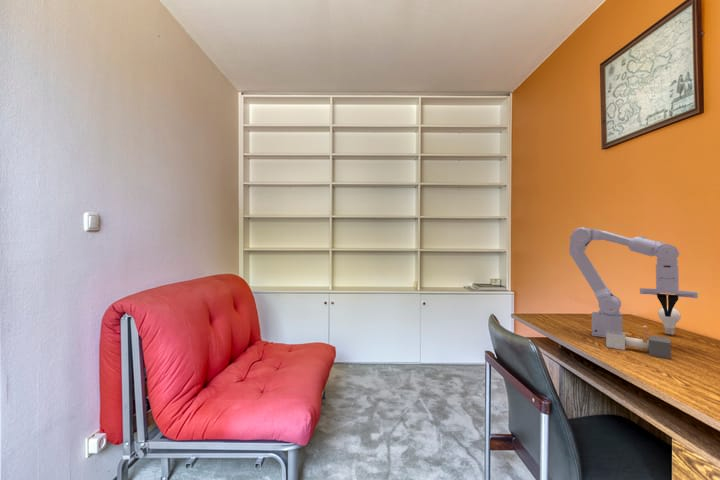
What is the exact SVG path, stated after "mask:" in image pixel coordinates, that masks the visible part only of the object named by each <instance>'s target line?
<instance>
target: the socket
mask: <svg viewBox="0 0 720 480" xmlns="http://www.w3.org/2000/svg"><path fill="white" fill-rule="evenodd" d="M648 340H649V350H648V351H649V352H648V355H649V356H650V357H656V358H663V359H667V360H672V347H671V346H672V343H671V339H670V337H665V336H664V337H663V336H656V335H650V334H649V335H648Z"/></svg>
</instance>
